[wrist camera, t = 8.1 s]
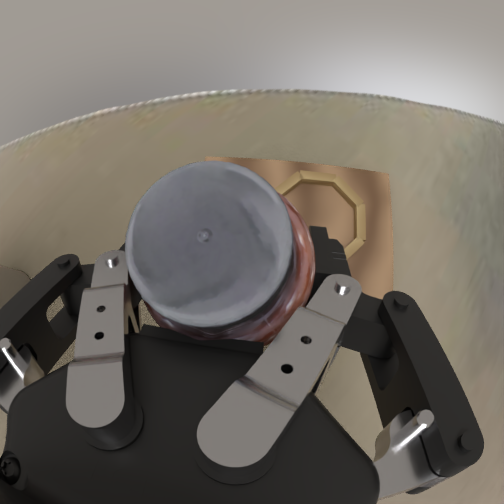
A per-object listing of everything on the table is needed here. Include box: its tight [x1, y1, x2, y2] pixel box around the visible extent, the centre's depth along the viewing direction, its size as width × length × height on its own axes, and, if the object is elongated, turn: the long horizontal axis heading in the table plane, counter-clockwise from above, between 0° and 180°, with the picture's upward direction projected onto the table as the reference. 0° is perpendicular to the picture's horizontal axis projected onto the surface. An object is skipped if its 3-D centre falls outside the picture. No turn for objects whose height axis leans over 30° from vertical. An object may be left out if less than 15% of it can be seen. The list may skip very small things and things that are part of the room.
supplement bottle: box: [125, 160, 315, 346], centre depth 12 cm, size 6×6×11 cm
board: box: [205, 157, 393, 299], centre depth 30 cm, size 22×16×4 cm
